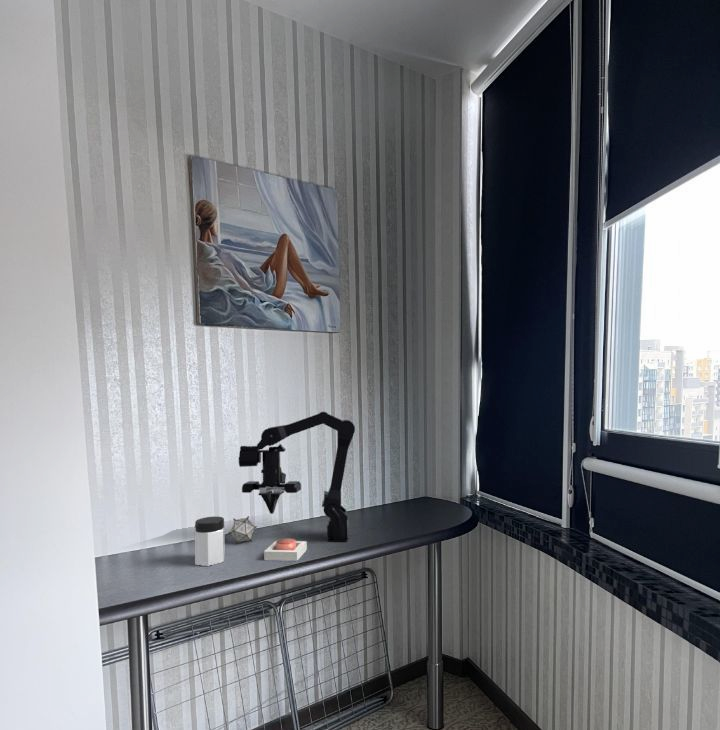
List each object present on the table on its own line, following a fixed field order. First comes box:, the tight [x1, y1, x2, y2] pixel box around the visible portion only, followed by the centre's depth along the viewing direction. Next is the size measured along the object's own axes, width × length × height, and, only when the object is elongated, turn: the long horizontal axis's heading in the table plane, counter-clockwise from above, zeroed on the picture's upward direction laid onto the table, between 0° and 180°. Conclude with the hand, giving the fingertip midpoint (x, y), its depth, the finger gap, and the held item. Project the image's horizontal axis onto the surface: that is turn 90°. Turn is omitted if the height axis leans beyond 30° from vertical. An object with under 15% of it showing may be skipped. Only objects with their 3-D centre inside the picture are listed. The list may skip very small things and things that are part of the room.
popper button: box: [275, 537, 297, 550], centre depth 140 cm, size 6×6×4 cm
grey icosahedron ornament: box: [227, 515, 258, 545], centre depth 154 cm, size 9×8×10 cm
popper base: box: [263, 540, 308, 562], centre depth 140 cm, size 10×10×2 cm
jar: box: [194, 516, 226, 567], centre depth 137 cm, size 9×8×12 cm
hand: (272, 513), depth 152 cm, fingers closed
